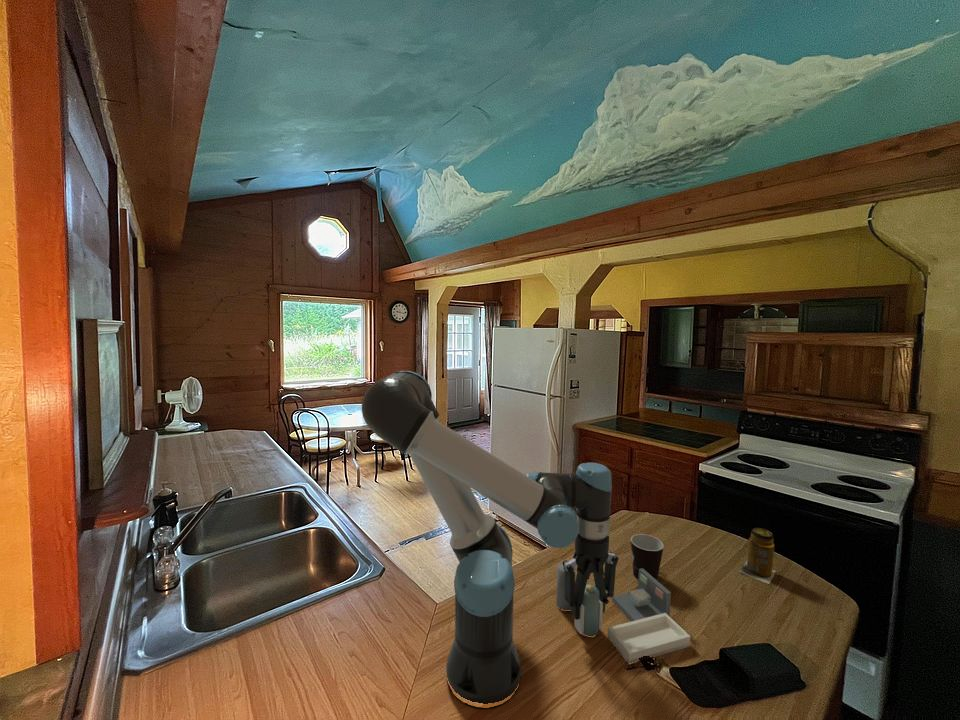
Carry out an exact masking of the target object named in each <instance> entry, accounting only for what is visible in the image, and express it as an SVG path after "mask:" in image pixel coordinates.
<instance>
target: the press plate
mask: <svg viewBox="0 0 960 720" xmlns="http://www.w3.org/2000/svg"><path fill="white" fill-rule="evenodd" d="M630 599H631V600H632V601H633V602H634V603H635V604H636V605H637V606H638V607H641V606H645V605H649V604H651V596H650V595H649V594H648V593H647V592H646V591H645V590H644V589H638V588H637V589H634V590H630Z"/></svg>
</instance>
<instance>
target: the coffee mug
mask: <svg viewBox="0 0 960 720" xmlns="http://www.w3.org/2000/svg"><path fill="white" fill-rule="evenodd" d="M664 548H665V545H664V543H663V542H662V540H661V539H659V538H658V537H655V536H653V535H650V534H646V533H644V534H643V533H639V534H634V535H632V536H631V538H630V549H631V560H632V561H631V562H632V572H633V573H632V574H633V576H634V578H635V579H636V580H638V577H639V569H642V568H643V569H644V570H645V571H646V572H648V573H649V574H650V575H651V576H652V577H653V578H655V579H656V580H657V581H658V578H659V577H658V576H659V572H660V567H661V563H662V558H663V551H664Z"/></svg>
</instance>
